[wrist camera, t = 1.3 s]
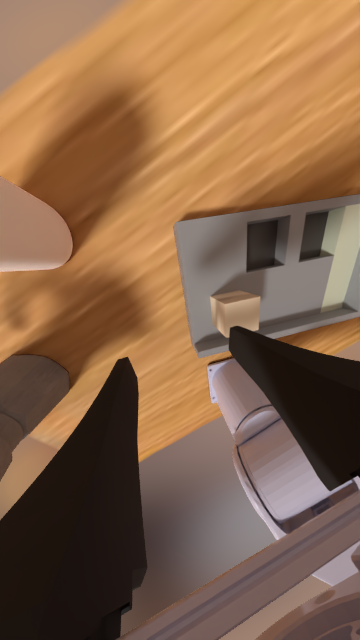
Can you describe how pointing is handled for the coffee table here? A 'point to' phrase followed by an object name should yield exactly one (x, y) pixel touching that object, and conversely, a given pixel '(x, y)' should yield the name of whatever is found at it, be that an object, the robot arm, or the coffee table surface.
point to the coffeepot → (27, 398)
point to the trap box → (273, 267)
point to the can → (30, 232)
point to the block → (235, 311)
